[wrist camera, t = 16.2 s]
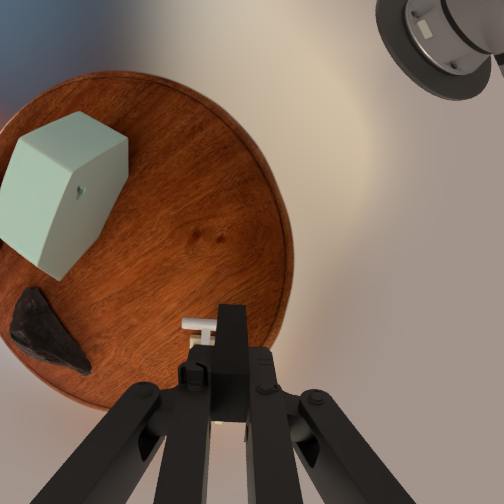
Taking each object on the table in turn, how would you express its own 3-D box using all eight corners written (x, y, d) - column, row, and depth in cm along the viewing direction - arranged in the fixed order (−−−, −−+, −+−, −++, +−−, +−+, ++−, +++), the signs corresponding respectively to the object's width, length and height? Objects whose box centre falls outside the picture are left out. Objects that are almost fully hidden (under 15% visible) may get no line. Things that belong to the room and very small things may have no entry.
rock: (36, 280, 44) (5, 301, 35) (98, 363, 49) (79, 395, 40) (15, 299, 45) (-14, 320, 36) (74, 376, 49) (54, 406, 40)
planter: (91, 169, 45) (74, 79, 26) (129, 192, 46) (129, 107, 27) (30, 259, 38) (-35, 209, 20) (69, 287, 40) (17, 253, 21)
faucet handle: (184, 316, 40) (181, 317, 37) (231, 319, 40) (231, 320, 38) (181, 407, 38) (178, 412, 35) (227, 410, 38) (227, 416, 36)
